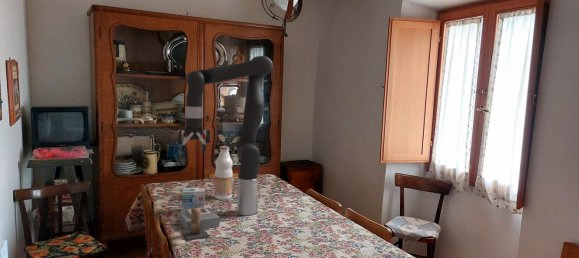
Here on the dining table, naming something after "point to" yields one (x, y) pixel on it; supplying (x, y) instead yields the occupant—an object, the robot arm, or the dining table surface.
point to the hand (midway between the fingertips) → (193, 152)
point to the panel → (206, 218)
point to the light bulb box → (192, 198)
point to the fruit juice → (223, 175)
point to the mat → (189, 236)
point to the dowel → (195, 221)
